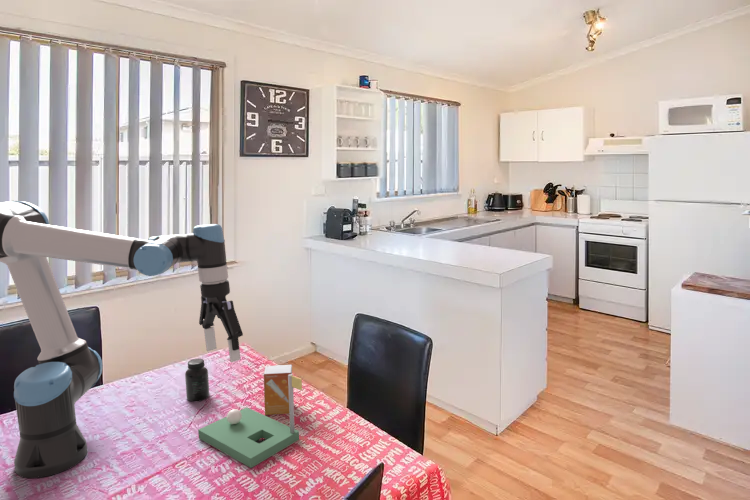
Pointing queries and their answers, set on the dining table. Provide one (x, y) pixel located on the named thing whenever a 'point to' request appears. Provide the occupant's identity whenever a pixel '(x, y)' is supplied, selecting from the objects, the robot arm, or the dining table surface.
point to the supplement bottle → (197, 380)
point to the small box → (276, 389)
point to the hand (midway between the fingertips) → (223, 355)
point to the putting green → (253, 433)
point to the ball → (234, 416)
